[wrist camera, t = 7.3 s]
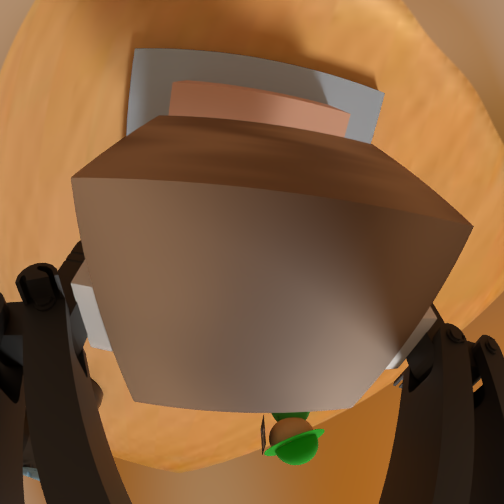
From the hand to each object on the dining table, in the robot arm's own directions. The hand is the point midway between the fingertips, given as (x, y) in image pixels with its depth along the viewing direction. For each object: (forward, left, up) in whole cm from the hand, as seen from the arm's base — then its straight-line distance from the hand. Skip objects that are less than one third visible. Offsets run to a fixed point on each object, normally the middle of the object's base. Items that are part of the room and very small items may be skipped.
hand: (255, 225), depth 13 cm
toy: (+12, -33, -13) cm, 37 cm away
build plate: (0, 0, -13) cm, 13 cm away
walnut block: (0, 0, 0) cm, 0 cm away
